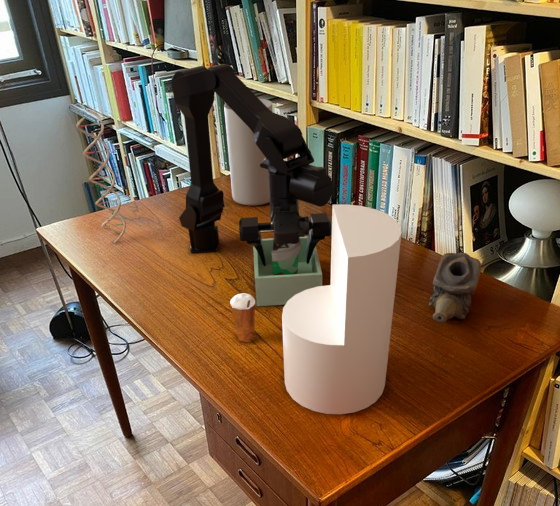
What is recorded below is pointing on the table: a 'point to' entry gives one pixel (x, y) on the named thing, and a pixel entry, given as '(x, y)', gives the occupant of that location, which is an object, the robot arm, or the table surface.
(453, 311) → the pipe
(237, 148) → the cylinder vase
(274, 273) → the food container
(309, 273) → the light green open box
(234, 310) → the milkshake
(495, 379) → the table surface
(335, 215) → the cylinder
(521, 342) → the table surface
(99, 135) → the dna model
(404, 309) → the table surface
